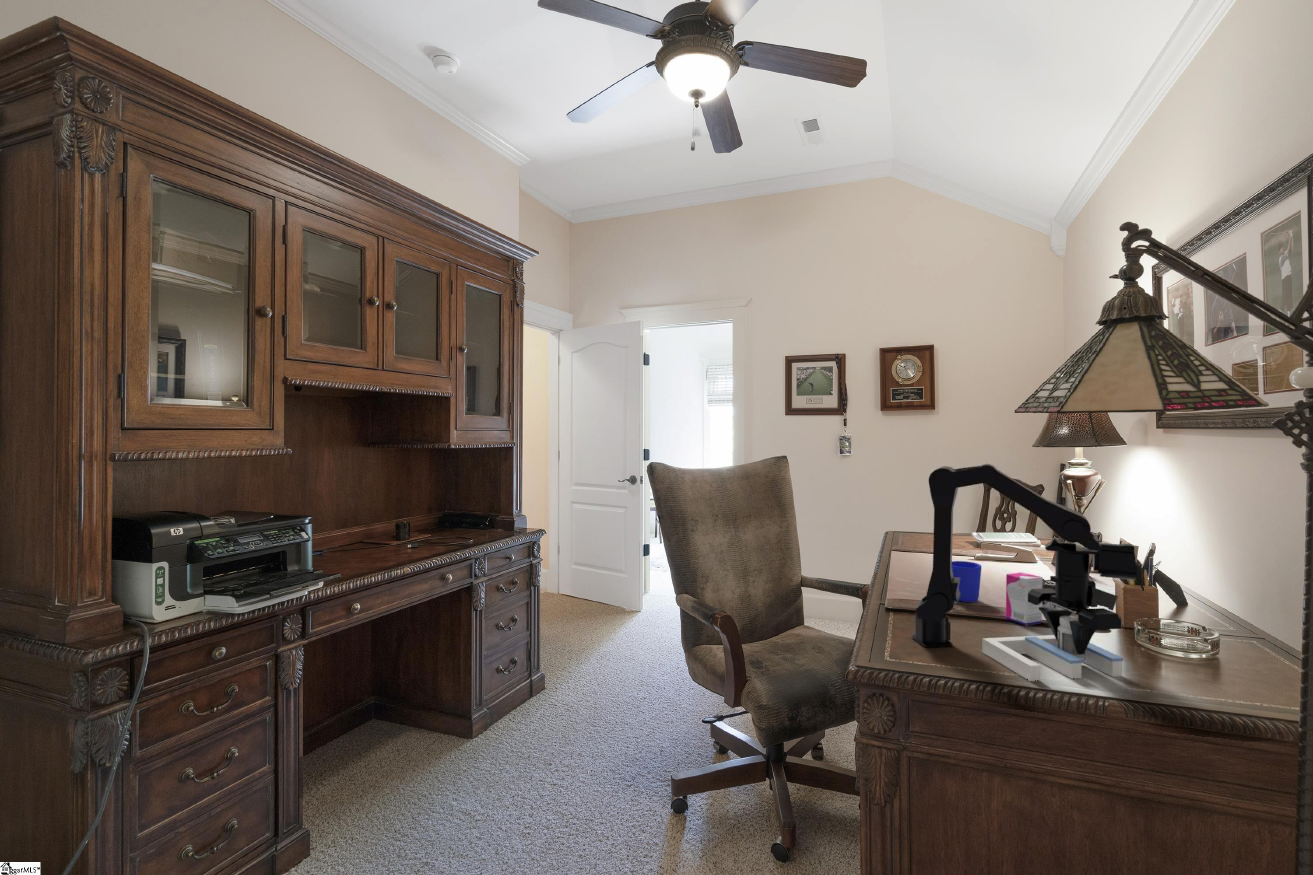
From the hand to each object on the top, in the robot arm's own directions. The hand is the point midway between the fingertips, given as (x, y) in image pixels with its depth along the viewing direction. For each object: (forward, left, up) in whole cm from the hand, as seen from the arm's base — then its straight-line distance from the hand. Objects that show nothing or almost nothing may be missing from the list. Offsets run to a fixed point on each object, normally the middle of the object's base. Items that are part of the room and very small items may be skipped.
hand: (1071, 649), depth 126 cm
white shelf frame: (-4, 0, -3) cm, 5 cm away
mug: (+3, +44, -3) cm, 45 cm away
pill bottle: (0, 0, -2) cm, 2 cm away
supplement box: (+9, +26, -3) cm, 28 cm away
